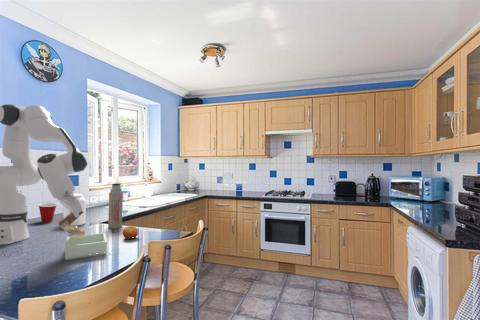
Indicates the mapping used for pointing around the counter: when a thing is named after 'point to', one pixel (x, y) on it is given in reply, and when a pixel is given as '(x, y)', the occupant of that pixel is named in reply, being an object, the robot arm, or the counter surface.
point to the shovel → (67, 226)
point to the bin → (86, 246)
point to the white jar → (81, 218)
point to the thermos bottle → (115, 207)
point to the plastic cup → (47, 211)
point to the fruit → (130, 232)
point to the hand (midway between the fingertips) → (75, 215)
